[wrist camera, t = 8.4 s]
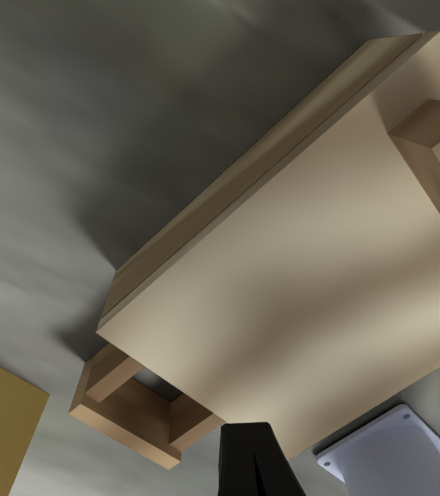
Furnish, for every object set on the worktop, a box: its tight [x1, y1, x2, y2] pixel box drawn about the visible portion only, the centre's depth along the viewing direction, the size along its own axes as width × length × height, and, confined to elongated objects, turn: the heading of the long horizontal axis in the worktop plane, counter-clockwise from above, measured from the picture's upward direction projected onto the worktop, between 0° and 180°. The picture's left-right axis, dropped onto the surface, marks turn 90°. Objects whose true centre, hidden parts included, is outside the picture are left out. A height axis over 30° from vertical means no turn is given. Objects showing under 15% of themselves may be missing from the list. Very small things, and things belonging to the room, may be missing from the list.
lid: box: [96, 31, 440, 461], centre depth 15 cm, size 13×16×3 cm
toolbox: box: [68, 33, 423, 470], centre depth 19 cm, size 13×22×4 cm, turn 132°
